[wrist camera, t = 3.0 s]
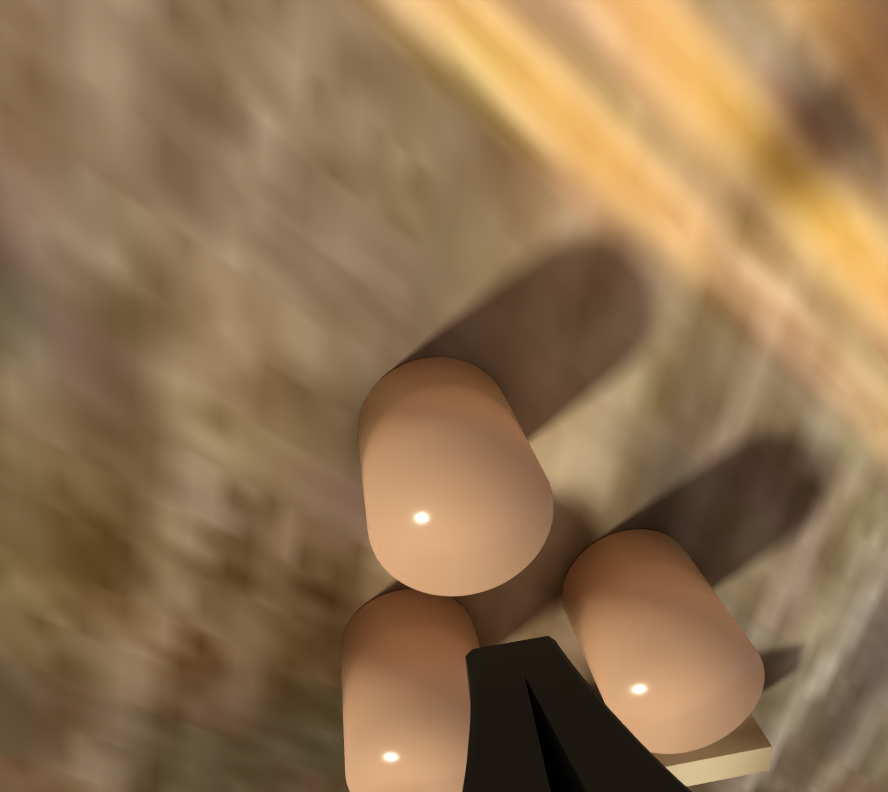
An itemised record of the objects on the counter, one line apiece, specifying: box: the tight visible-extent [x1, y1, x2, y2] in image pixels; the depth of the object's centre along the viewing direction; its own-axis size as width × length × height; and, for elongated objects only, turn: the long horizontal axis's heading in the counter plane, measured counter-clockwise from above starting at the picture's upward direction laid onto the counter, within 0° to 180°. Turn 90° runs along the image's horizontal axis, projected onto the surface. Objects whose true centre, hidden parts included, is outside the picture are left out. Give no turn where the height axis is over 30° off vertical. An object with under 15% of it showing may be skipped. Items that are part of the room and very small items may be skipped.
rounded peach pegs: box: [341, 357, 765, 792], centre depth 21 cm, size 11×11×4 cm
